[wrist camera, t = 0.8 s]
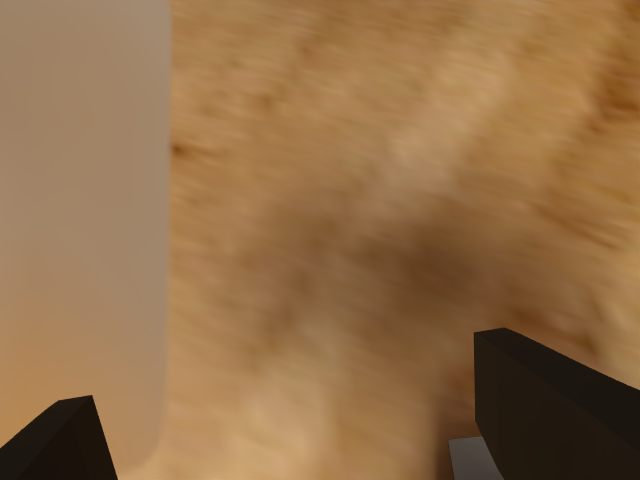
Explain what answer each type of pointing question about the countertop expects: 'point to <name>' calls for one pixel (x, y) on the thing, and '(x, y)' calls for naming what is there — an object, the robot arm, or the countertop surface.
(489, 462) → the cable guide
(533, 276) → the countertop surface
